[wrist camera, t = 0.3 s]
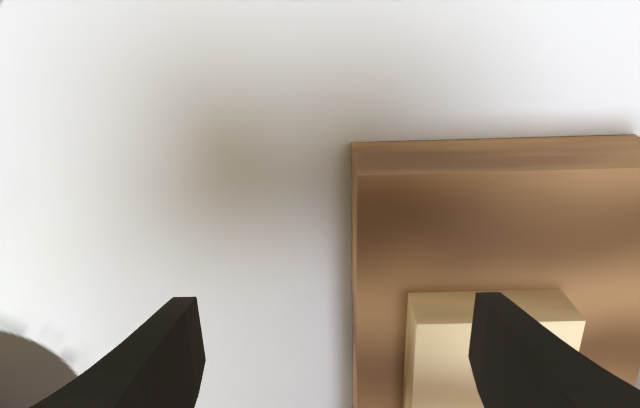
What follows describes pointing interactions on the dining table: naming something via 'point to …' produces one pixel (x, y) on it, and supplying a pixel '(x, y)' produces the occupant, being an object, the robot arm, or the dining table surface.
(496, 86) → the dining table surface
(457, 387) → the birch tile
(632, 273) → the walnut deck
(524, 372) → the robot arm
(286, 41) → the dining table surface
